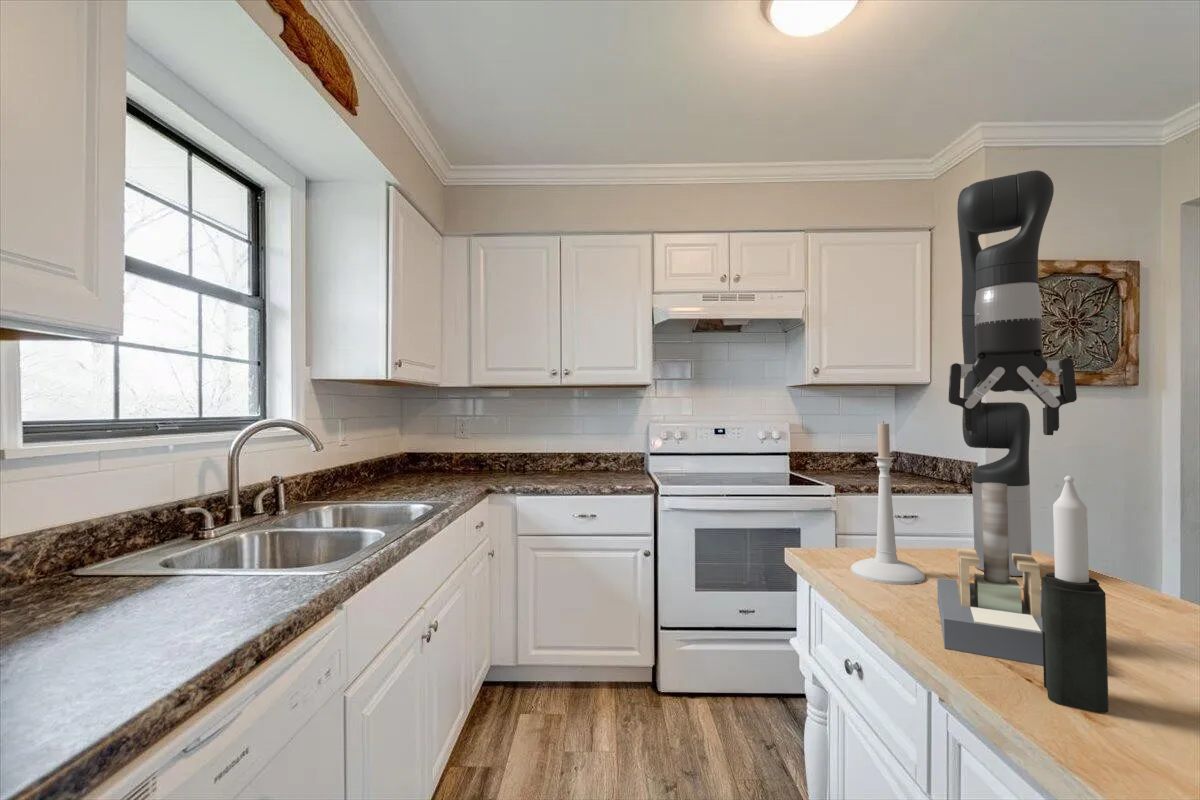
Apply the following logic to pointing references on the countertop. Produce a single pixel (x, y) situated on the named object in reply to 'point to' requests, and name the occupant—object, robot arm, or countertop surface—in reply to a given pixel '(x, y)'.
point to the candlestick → (886, 529)
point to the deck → (988, 627)
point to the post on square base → (996, 555)
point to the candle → (1073, 614)
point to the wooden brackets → (1023, 564)
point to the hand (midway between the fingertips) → (1009, 434)
